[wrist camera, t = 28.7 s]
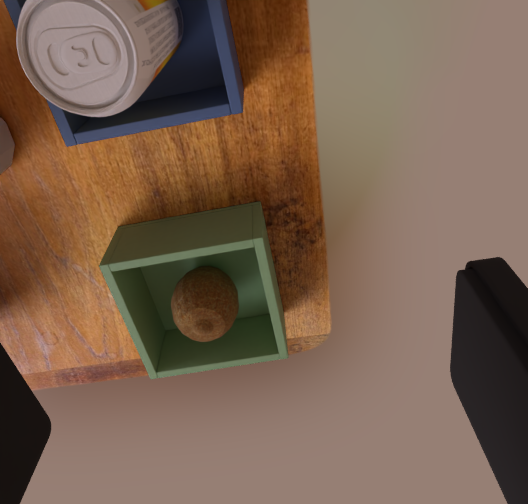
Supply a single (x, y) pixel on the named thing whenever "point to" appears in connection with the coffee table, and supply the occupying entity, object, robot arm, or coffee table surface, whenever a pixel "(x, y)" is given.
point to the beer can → (96, 50)
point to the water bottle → (5, 146)
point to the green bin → (176, 266)
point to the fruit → (205, 303)
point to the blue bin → (171, 80)
